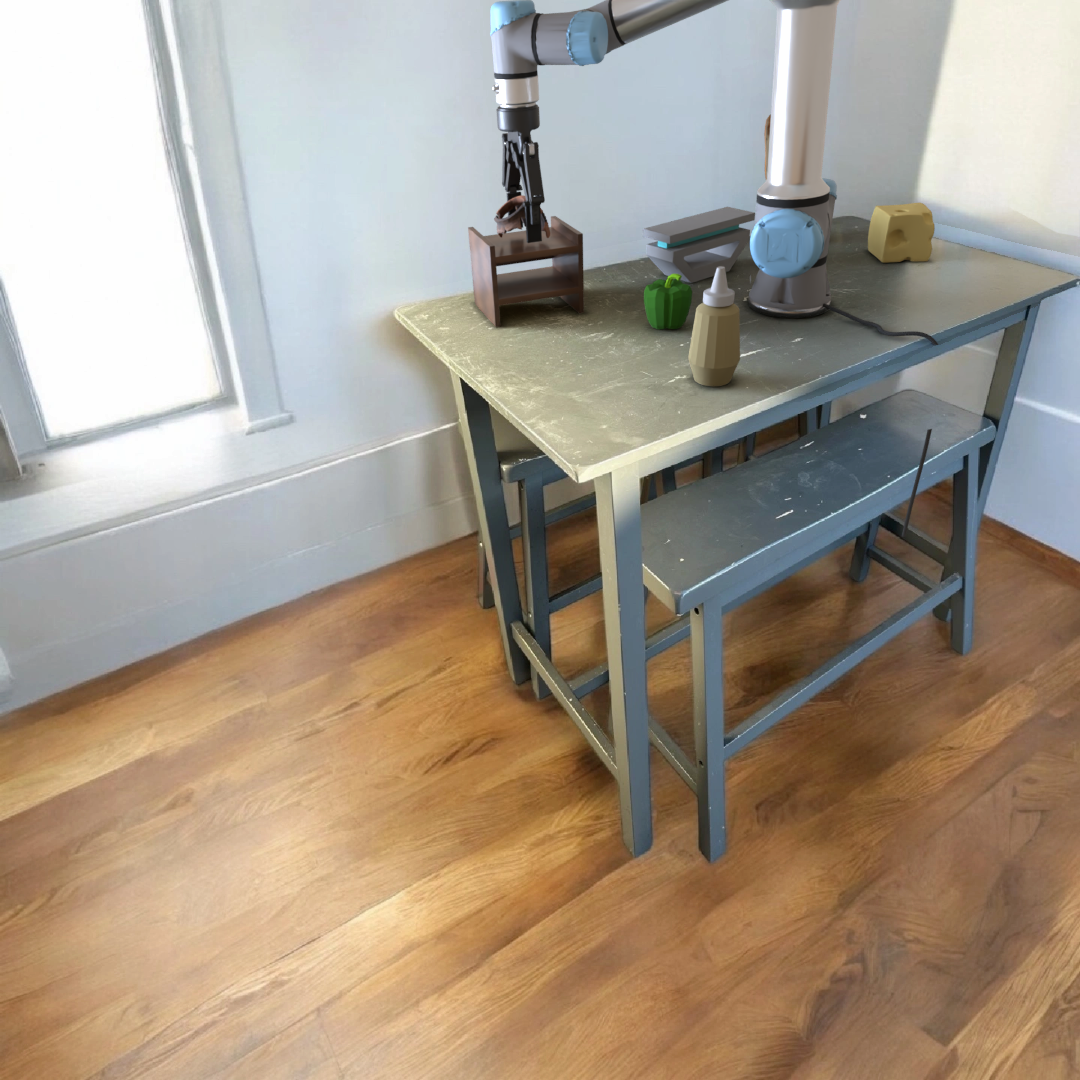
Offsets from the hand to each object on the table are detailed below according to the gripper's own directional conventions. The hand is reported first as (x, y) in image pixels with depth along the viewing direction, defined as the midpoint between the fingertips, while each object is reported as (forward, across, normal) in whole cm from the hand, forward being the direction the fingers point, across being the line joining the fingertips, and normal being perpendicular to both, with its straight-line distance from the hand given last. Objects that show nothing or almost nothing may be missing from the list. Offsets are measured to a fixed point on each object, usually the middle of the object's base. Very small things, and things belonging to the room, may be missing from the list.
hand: (524, 234), depth 161 cm
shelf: (+14, 0, 0) cm, 14 cm away
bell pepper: (+15, +21, +20) cm, 32 cm away
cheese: (+15, +4, +84) cm, 85 cm away
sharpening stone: (+15, -5, +40) cm, 43 cm away
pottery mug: (0, 0, 0) cm, 0 cm away
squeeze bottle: (+15, +46, +16) cm, 51 cm away
